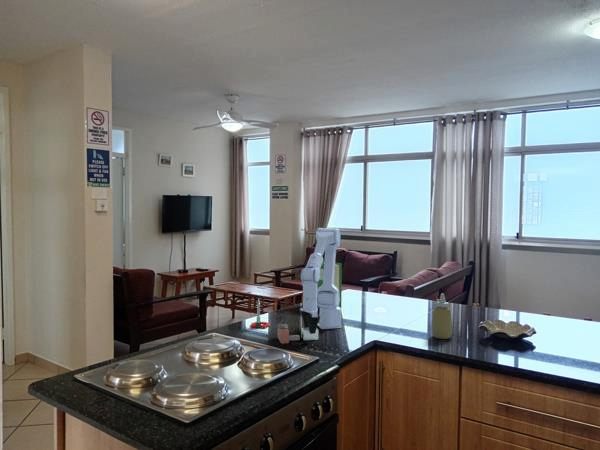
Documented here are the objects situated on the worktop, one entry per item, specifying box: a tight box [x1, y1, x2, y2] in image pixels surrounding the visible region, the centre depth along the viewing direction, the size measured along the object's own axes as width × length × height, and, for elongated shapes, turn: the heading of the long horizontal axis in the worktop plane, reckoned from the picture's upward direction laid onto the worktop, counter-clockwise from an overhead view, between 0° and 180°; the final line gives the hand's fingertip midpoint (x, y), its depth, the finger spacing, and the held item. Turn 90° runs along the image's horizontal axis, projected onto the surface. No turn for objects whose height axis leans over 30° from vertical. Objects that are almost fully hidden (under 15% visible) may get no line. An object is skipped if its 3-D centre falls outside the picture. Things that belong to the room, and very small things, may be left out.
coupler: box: [277, 323, 301, 344], centre depth 172 cm, size 8×8×6 cm
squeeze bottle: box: [431, 293, 453, 340], centre depth 177 cm, size 8×8×18 cm
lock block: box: [300, 327, 319, 341], centre depth 174 cm, size 6×4×4 cm, turn 104°
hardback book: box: [317, 260, 343, 310], centre depth 234 cm, size 18×7×24 cm, turn 36°
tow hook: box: [250, 298, 271, 329], centre depth 193 cm, size 8×13×9 cm
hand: (309, 330), depth 174 cm, fingers open, 7 cm apart
